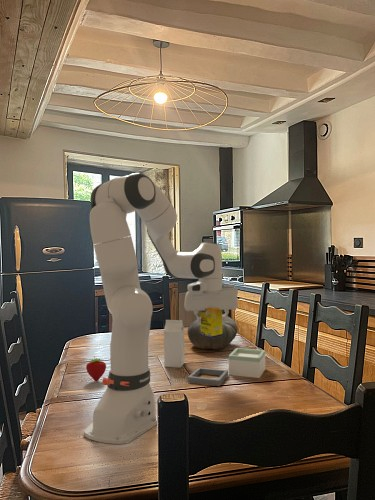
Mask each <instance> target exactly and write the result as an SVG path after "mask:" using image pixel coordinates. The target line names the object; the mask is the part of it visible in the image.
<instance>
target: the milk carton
mask: <svg viewBox="0 0 375 500" xmlns="http://www.w3.org/2000/svg"><path fill="white" fill-rule="evenodd" d="M163 348H164V349H163V350H164V351H163V353H164V354H163V355H164V356H163V357H164V358H163V359H164V362H163V363H164V364H163V365H164V367H165V368H182V367H183V365H184V364H185V359H186V358H185V326H184V324H183V320H182V319H180V320H179V319H178V320H177V319H165V325H164V328H163Z"/></svg>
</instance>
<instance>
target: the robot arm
mask: <svg viewBox="0 0 375 500" xmlns="http://www.w3.org/2000/svg"><path fill="white" fill-rule="evenodd" d="M90 206H91V210H90V212H89V228H90V235H91V240H92V244H93V248H94V252H95V256H96V260H97V265H98V268H99V271H100V278H101V282H102V287H103V293H104V298H105V302H106V306H107V309H108V311H109V313H110V314H111V317H112V321H111V336H110V337H111V338H110V344H109V351H110V352H109V354H110V370H109V372H108V377H103V378H102V380H101V384H102V385H103V386H107V387H106V388H105V391H104V392H103V394H102V396H101V397H100V400H99V401H98V402H97V405H96V406H95V408H94V409H93V417H92V422H90V424H89V425H87V427H86V428H85V429H84V431H83V436H84V437H85V438H87V439H89V440H91V441H94V442H95V441H96V442H99V443H105V444H113V445H114V444H115V445H117V444H118V445H119V444H120V445H122V444H129V443H130V442H132V441H133V440H135V439H136V438H138V437H140V436H141V435H142V434H145V432H147V431H148V430H151V428H153V427H155V426H157V425H158V424H157V416H158V415H157V410H156V409H157V408H156V399H155V392H154V391H153V389H152V386H151V385H150V383H151V370H150V368H149V340H150V339H149V338H150V331H151V330H150V329H151V323H152V322H151V321H152V316H153V310H154V309H153V303H152V300H151V298H150V296H149V294H148V293H147V292H146V291H145V290H143V289H142V288H141V284H140V278H139V268H138V258H137V255H136V251H135V247H134V242H133V238H132V234H131V231H130V230H131V229H130V227H129V224H128V222H127V215H129V214H132V213H134V212H136V213H137V215H138V217H139V218H140V219H141V220H142V222H143V223H144V225H145V227H146V233H147V236H148V238H149V240H150V242H151V244H152V245H153V246H154V249H155V250H156V252H157V254H158V255H159V257H160V260H161V261H162V263H163V268H164V270H165V272H166V274H167V276H169V278H172V279H197V281H195V282H192V283H188V284H187V291H186V292H185V295H184V296H185V297H184V303H183V305H184V310H185V311H186V312H193V314H194V315H195V317H196V320H197V323H200V322H201V316H198V314H199V311H200V312H201V311H203V310H205V309H206V308H219V310H222V311H223V312H225V313H223V314H224V316H222V322H226V317H227V316H228V315H229V313H230V311H229V310H231V311H232V310H237V308H238V307H239V302H238V295H239V288H238V287H237V286H236V285H234V284H223V274H222V269H223V259H222V258H223V257H222V250H221V247H220V245H219V244H218V243H214V242H209V241H208V242H201V243H200V244H199V246H198V247H197V248H196V249H195V250H192V251H189V252H187V251H186V252H185V251H180V250H177V249H176V248H175V247H174V245H173V244H172V242H171V240H170V238H169V236H168V234H169V233H171V231H172V230H173V229H174V228H175V226H176V224H177V221H178V214H177V211H176V209H175V207H174V206H173V204H172V203H171V201H170V200H169V199H168V197H167V196H166V194H165V193H164V192H163V191H162V190H161V188H160V187H159V186H158V185H157V184H156V183H155V182H154V181H153V180H152V179H151V178H150V177H149V176H148V175H147V174H144V173H140V172H135V173H134V172H133V173H131V174H129V175H124V176H119V177H114V178H112V179H110V180H108V181H105V182H102V183H99V185H97V186H96V187H95V188H94V189H93V190H92V192H91V193H90Z"/></svg>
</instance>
